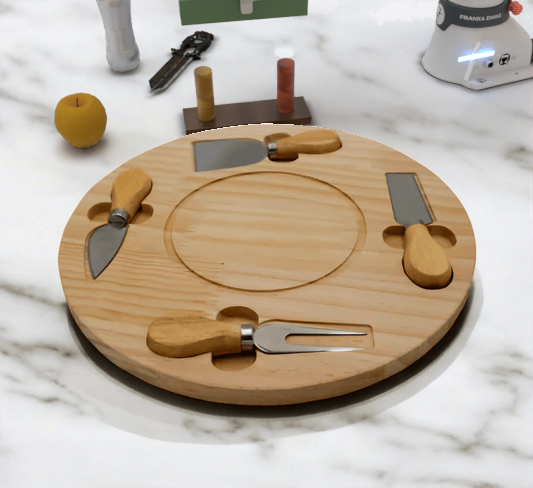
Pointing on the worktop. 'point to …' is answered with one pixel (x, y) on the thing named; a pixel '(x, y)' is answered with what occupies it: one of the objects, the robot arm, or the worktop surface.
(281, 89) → the rods
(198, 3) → the bar
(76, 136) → the apple
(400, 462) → the worktop surface
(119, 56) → the plastic bottle
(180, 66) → the knife
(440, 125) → the worktop surface
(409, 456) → the worktop surface
